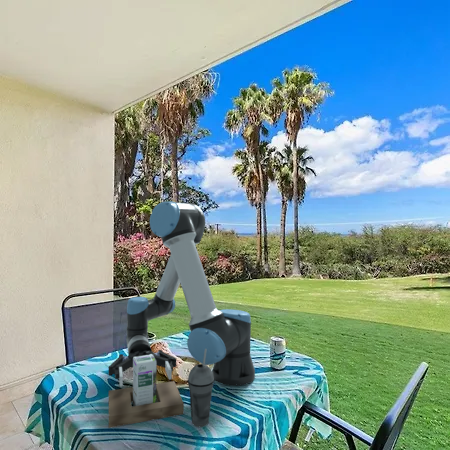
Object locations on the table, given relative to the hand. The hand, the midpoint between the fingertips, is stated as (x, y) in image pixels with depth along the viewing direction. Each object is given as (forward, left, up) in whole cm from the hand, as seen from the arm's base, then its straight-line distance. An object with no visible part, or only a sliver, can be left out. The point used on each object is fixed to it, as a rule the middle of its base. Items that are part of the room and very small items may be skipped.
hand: (146, 378), depth 94 cm
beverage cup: (-16, -1, -10) cm, 19 cm away
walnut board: (+2, -3, -10) cm, 10 cm away
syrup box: (+2, -3, -10) cm, 11 cm away
